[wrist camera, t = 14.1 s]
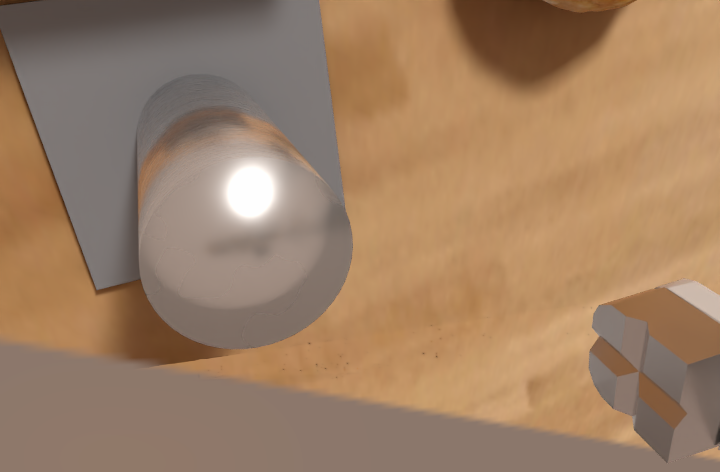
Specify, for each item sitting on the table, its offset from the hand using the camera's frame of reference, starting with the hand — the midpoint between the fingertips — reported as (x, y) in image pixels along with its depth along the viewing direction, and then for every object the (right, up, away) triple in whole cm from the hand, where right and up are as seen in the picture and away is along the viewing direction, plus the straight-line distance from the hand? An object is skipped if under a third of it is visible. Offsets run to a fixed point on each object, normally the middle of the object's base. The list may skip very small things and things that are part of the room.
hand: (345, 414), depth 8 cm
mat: (-6, +6, +13) cm, 15 cm away
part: (-5, +6, +13) cm, 15 cm away
